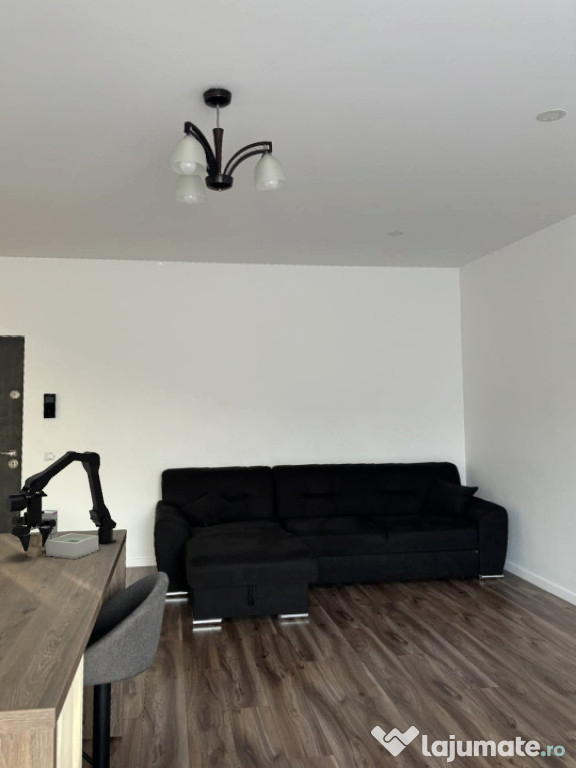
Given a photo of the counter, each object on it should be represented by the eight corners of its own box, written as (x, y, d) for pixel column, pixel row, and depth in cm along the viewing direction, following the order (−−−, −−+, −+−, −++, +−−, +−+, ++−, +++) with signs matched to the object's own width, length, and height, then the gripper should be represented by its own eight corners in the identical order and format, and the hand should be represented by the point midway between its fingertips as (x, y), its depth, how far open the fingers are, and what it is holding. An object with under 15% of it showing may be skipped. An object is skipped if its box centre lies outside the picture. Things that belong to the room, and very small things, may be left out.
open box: (70, 547, 261) (70, 533, 261) (98, 550, 256) (98, 535, 256) (46, 556, 248) (46, 540, 248) (75, 559, 243) (75, 543, 243)
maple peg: (33, 554, 251) (33, 534, 251) (41, 554, 250) (41, 534, 250) (26, 556, 247) (26, 536, 247) (34, 557, 246) (34, 536, 246)
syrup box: (58, 543, 269) (58, 509, 269) (51, 546, 263) (51, 512, 263) (45, 543, 269) (45, 509, 269) (38, 546, 263) (38, 511, 263)
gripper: (35, 503, 260) (35, 541, 260) (0, 512, 243) (0, 552, 243) (56, 505, 256) (57, 543, 256) (23, 513, 239) (23, 555, 239)
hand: (34, 548), depth 249 cm, fingers open, 9 cm apart
